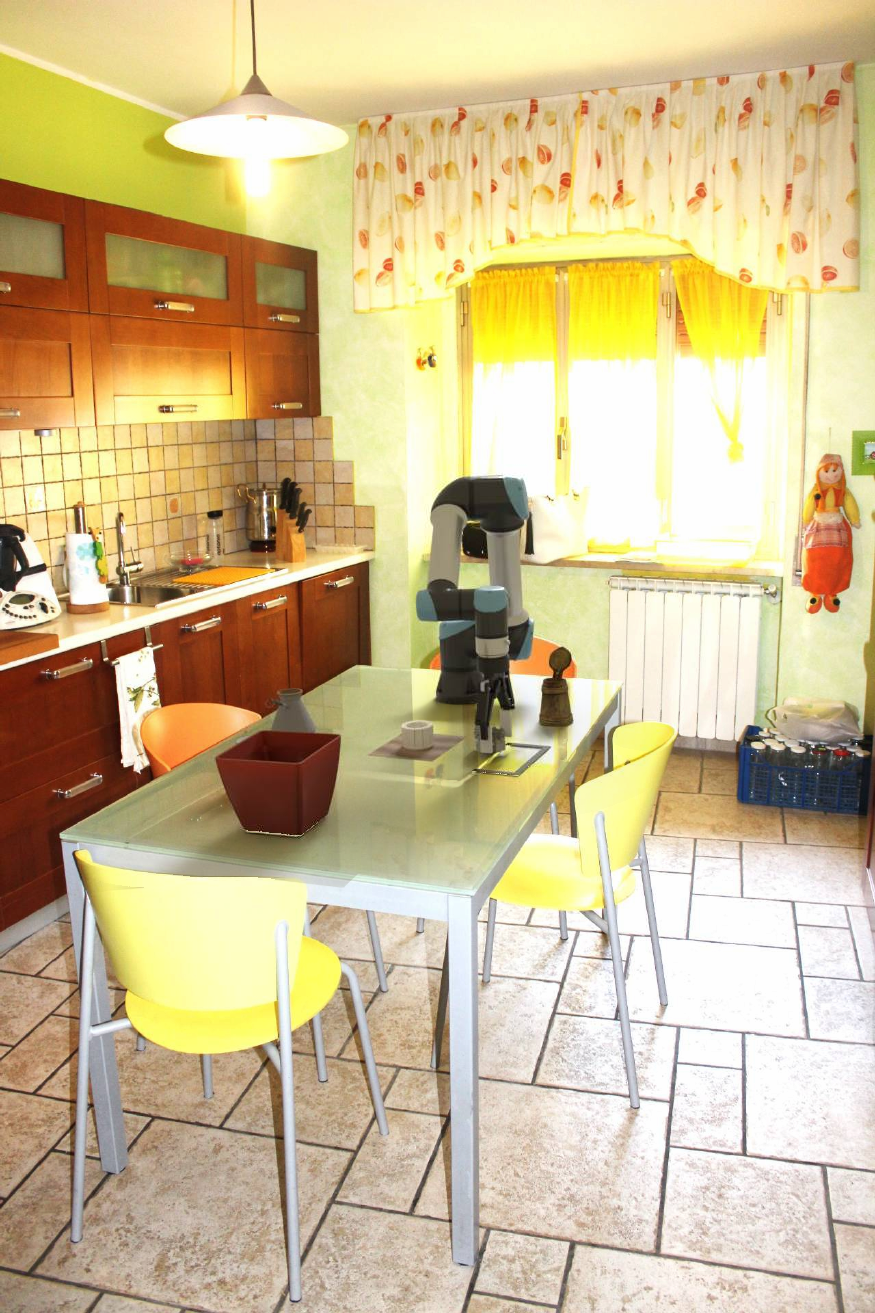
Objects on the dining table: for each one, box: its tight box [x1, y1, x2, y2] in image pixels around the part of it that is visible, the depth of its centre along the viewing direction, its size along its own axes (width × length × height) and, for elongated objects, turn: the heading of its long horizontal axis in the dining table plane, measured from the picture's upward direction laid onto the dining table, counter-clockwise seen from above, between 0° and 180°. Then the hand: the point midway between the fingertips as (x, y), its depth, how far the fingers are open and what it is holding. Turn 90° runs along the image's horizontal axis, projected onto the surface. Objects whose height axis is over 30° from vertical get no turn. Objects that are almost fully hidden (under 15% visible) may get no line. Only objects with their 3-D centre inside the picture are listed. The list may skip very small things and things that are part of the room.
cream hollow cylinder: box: [401, 720, 434, 750], centre depth 267 cm, size 8×8×5 cm
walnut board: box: [367, 733, 467, 762], centre depth 268 cm, size 20×17×1 cm
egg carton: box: [473, 724, 507, 754], centre depth 259 cm, size 11×8×4 cm
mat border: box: [472, 741, 552, 776], centre depth 259 cm, size 22×19×1 cm
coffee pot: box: [264, 687, 317, 733], centre depth 275 cm, size 21×12×15 cm, turn 169°
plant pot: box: [214, 729, 342, 835], centre depth 222 cm, size 19×19×17 cm
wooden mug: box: [538, 645, 574, 727], centre depth 286 cm, size 9×14×18 cm, turn 160°
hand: (496, 744), depth 259 cm, fingers closed on egg carton, 11 cm apart
